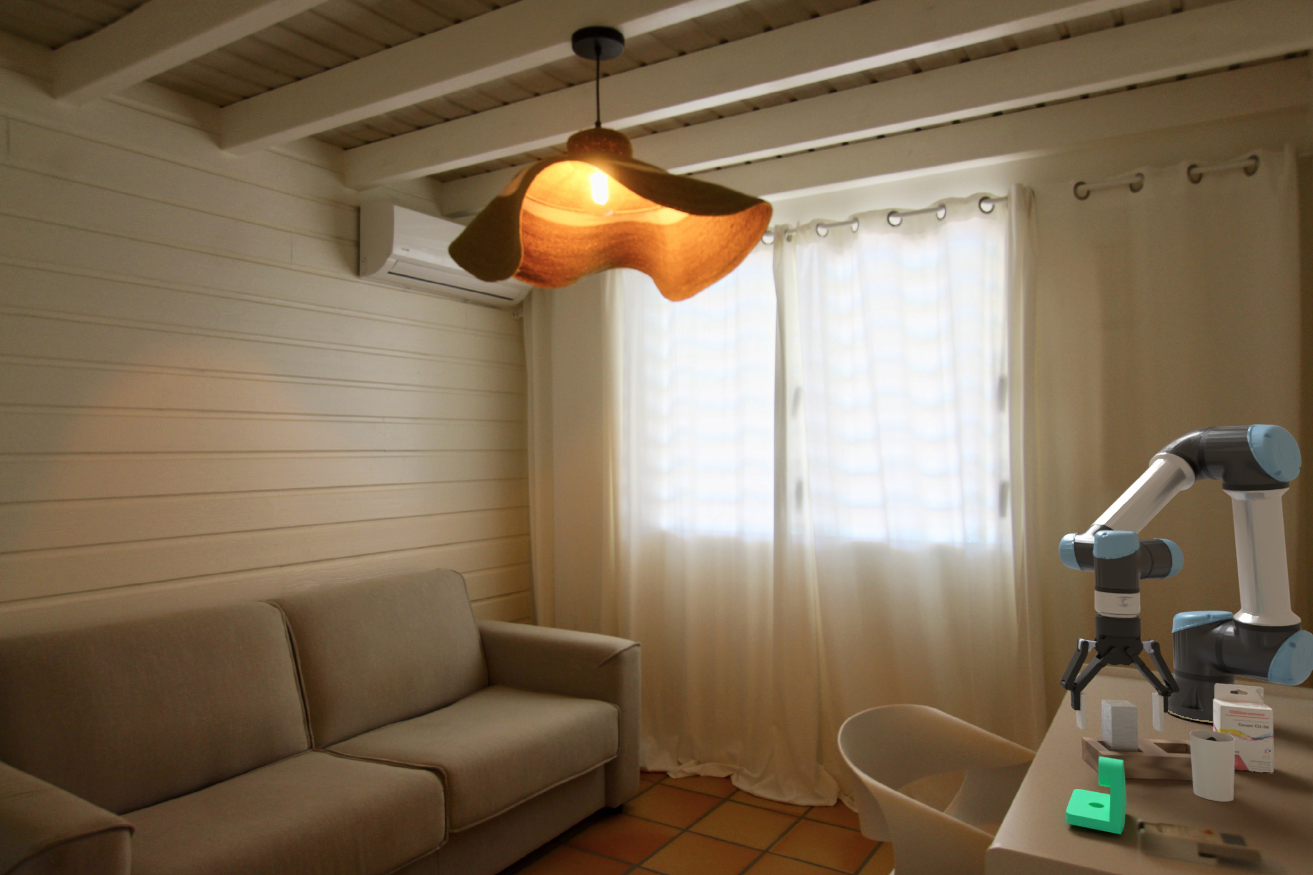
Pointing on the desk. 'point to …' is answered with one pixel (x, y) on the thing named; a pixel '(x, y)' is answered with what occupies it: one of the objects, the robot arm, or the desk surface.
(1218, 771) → the white cup
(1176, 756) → the brown holed block
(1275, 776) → the desk surface
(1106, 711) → the steel peg
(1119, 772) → the camera mount
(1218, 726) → the ink cartridge box
